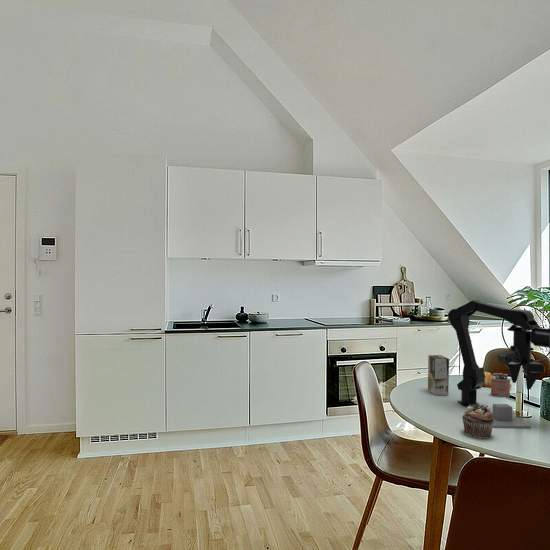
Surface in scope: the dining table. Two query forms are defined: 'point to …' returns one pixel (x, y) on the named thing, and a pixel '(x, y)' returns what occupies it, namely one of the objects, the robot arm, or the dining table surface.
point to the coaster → (510, 423)
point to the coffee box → (438, 374)
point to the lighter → (500, 385)
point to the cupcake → (478, 420)
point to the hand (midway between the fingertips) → (521, 385)
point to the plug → (503, 412)
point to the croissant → (489, 379)
